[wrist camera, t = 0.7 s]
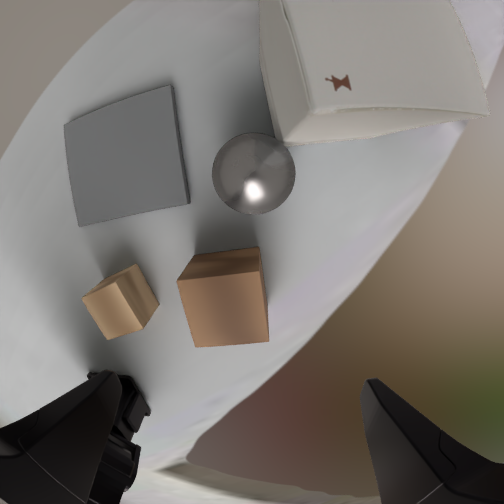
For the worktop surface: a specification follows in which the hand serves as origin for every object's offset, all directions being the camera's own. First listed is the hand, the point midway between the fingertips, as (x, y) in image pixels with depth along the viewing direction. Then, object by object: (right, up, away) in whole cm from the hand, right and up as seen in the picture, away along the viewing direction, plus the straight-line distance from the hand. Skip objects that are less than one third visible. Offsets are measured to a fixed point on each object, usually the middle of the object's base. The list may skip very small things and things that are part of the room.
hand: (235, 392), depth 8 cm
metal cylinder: (+1, +10, +11) cm, 15 cm away
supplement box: (+5, +16, +9) cm, 19 cm away
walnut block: (-1, +2, +13) cm, 13 cm away
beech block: (-10, +1, +14) cm, 17 cm away
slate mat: (-9, +12, +10) cm, 18 cm away
